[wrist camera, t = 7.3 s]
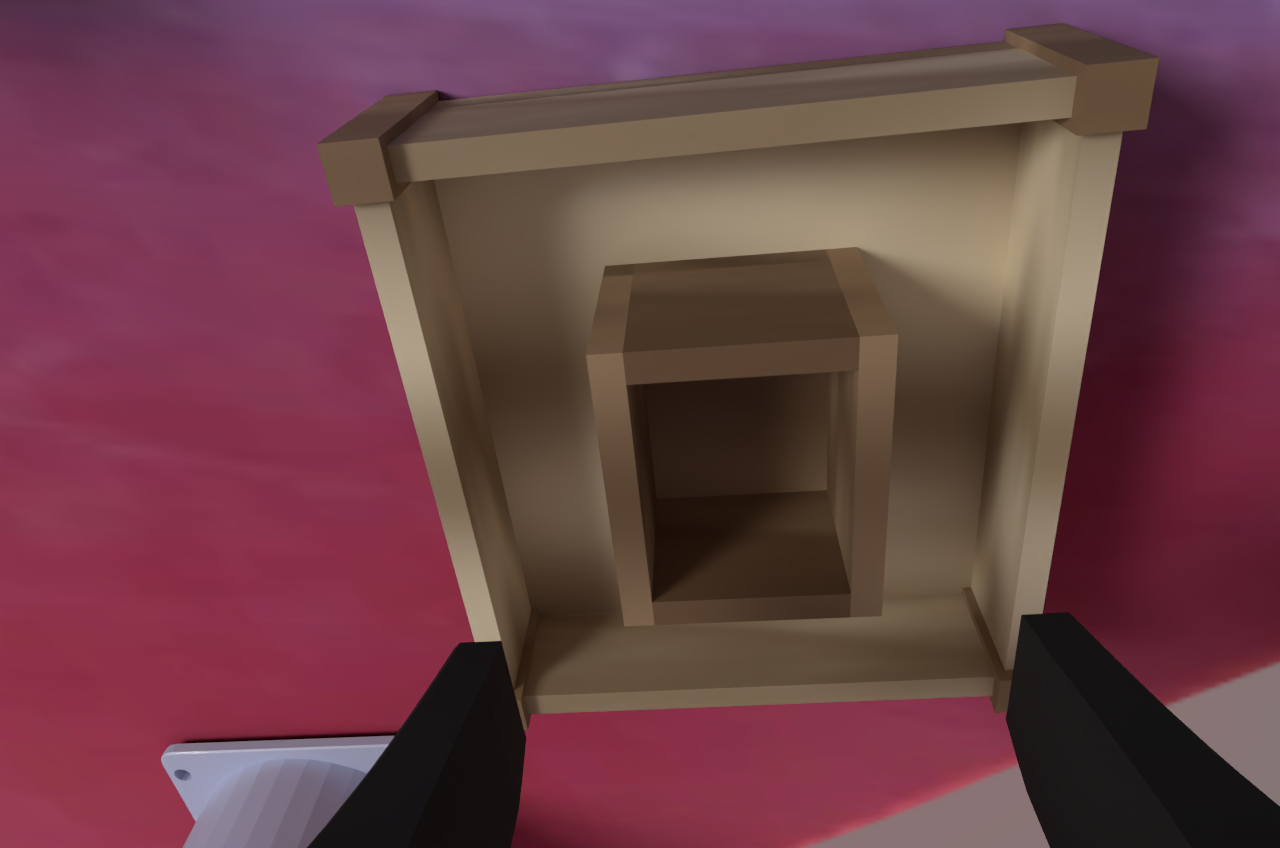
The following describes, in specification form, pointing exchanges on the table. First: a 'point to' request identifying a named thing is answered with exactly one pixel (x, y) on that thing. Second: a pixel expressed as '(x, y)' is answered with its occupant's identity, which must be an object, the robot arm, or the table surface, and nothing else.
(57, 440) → the table surface
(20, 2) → the table surface
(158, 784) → the table surface
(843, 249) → the small crate
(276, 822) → the robot arm
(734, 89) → the crate
